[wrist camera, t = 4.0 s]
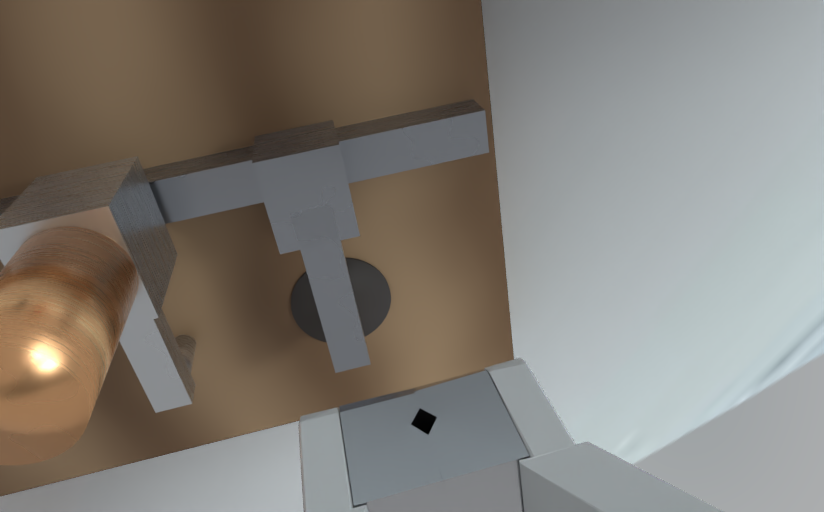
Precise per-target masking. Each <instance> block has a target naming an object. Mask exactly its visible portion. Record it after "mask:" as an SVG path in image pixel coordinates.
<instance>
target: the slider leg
mask: <svg viewBox="0 0 824 512" xmlns="http://www.w3.org/2000/svg"><path fill="white" fill-rule="evenodd" d="M177 255H178V254H177V252H176V249H175V247H174V244H173V242H172V239H171V237H170V234H169V232H168V229H167V227H166V224H165V222H164V220H163V217H162V215H161V212H160V210H159V207H158V205H157V202H156V200H155V197H154V195H153V192H152V190H151V188H150V185H149V183H148V180H147V178H146V175H145V173H144V170H143V168H142V165H141V163H140V160H139V158H138V156H136V157H132V158H127V159H122V160H117V161H113V162H108V163H103V164H98V165H94V166H89V167H84V168H79V169H75V170H70V171H65V172H60V173H56V174H51V175H46V176H41V177H37V178H36V179H35V180H34V181H33V182H32V183H31V184H30V185H29V186H28V187H27V188H26V189H25V190H24V191H23V193H22V194H21V195H20V196H19V197H18V198H17V199H16V200H15V201H14V202H13V203H12V204H11V205H10V206H9V207H8V209H7V210H6V211H5V212H4V213H3V214H2V215H1V216H0V260H1V262H2V263H3V265H4V268H3V269H2V270H1V272H0V465H8V466H9V465H26V464H33V463H38V462H42V461H45V460H48V459H51V458H53V457H56V456H58V455H60V454H61V453H63V452H65V451H67V450H68V449H69V448H71V447H72V446H73V445H74V444H75V443H76V442H77V441H78V440H79V439H80V437H81V436H82V435H83V433H84V431H85V429H86V427H87V425H88V422H89V419H90V417H91V414H92V411H93V409H94V406H95V403H96V401H97V398H98V395H99V393H100V390H101V388H102V385H103V382H104V380H105V377H106V374H107V372H108V369H109V366H110V364H111V361H112V358H113V356H114V353H115V350H116V348H117V345H118V343H119V341H120V343H121V345H122V347H123V349H124V351H125V353H126V355H127V357H128V359H129V361H130V363H131V365H132V367H133V369H134V371H135V373H136V375H137V377H138V379H139V381H140V383H141V385H142V387H143V389H144V391H145V393H146V395H147V397H148V399H149V401H150V403H151V405H152V407H153V409H154V411H155V413H157V412H161V411H165V410H169V409H173V408H177V407H181V406H185V405H189V404H192V402H193V397H194V391H195V386H196V384H195V382H194V380H193V378H192V375H191V370H192V365H193V360H194V354H195V349H196V341H195V339H194V338H193V337H192V336H189V335H179V336H177V337H174V335H173V333H172V330H171V328H170V326H169V324H168V321H167V319H166V317H165V315H164V312H163V310H162V305H163V302H164V298H165V295H166V292H167V288H168V285H169V282H170V278H171V275H172V272H173V268H174V265H175V262H176V258H177Z"/></svg>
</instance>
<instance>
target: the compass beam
mask: <svg viewBox="0 0 824 512" xmlns="http://www.w3.org/2000/svg"><path fill="white" fill-rule="evenodd" d="M484 153H489V146H488V135H487V125H486V114H485V110H484V109H483V108H482V107H481V106H480V105H479V104H478V103H477V102H476V101H475V100H473V99H470V100H465V101H460V102H456V103H451V104H446V105H441V106H437V107H432V108H427V109H423V110H418V111H413V112H408V113H404V114H399V115H394V116H390V117H385V118H380V119H376V120H371V121H366V122H361V123H357V124H352V125H347V126H343V127H338V128H335V126H334V123H333V120H329V121H324V122H319V123H315V124H310V125H305V126H300V127H296V128H291V129H286V130H281V131H277V132H272V133H267V134H262V135H258V136H255V140H254V145H253V146H248V147H244V148H239V149H234V150H230V151H225V152H220V153H216V154H211V155H206V156H201V157H197V158H192V159H187V160H183V161H178V162H173V163H168V164H164V165H159V166H154V167H150V168H145V169H143V170H144V173H145V175H146V178H147V180H148V183H149V185H150V188H151V190H152V192H153V195H154V197H155V200H156V202H157V205H158V207H159V210H160V212H161V215H162V217H163V220H164V222H165V224H168V223H172V222H177V221H181V220H186V219H190V218H195V217H199V216H204V215H208V214H213V213H217V212H222V211H226V210H231V209H235V208H240V207H245V206H249V205H254V204H258V203H263V202H264V204H265V207H266V210H267V214H268V217H269V220H270V223H271V227H272V230H273V233H274V236H275V240H276V243H277V246H278V249H279V253H280V254H284V253H288V252H293V251H297V250H300V251H301V254H302V258H303V261H304V265H305V268H306V272H307V275H308V279H309V282H310V285H311V289H312V292H313V296H314V299H315V303H316V306H317V310H318V313H319V317H320V320H321V324H322V327H323V331H324V334H325V338H326V341H327V345H328V348H329V352H330V355H331V359H332V362H333V366H334V369H335V373H338V372H342V371H346V370H350V369H354V368H358V367H362V366H366V365H370V364H371V363H370V358H369V354H368V349H367V344H366V340H365V336H364V332H363V328H362V324H361V320H360V316H359V312H358V308H357V304H356V300H355V296H354V291H353V287H352V283H351V279H350V275H349V271H348V267H347V263H346V259H345V255H344V251H343V247H342V243H341V240H345V239H349V238H354V237H358V236H360V233H359V229H358V224H357V220H356V216H355V211H354V207H353V202H352V198H351V194H350V189H349V185H348V184H349V183H353V182H358V181H362V180H367V179H371V178H376V177H380V176H385V175H389V174H394V173H398V172H403V171H407V170H412V169H417V168H421V167H426V166H430V165H435V164H439V163H444V162H448V161H453V160H457V159H462V158H466V157H471V156H475V155H480V154H484ZM19 196H20V195H18V196H13V197H8V198H4V199H0V216H1V215H2V214H3V213H4V212H5V211H6V210H7V209H8V207H9V206H10V205H11V204H12V203H13V202H14V201H15V200H16V199H17V198H18V197H19Z"/></svg>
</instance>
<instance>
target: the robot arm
mask: <svg viewBox="0 0 824 512" xmlns="http://www.w3.org/2000/svg"><path fill="white" fill-rule="evenodd" d="M298 426H299V442H300V459H301V475H302V492H303V508H304V512H724V511H722V510H720V509H718V508H716V507H714V506H712V505H710V504H708V503H707V502H705V501H703V500H701V499H699V498H697V497H695V496H693V495H691V494H689V493H687V492H685V491H683V490H681V489H679V488H677V487H675V486H673V485H671V484H669V483H668V482H666V481H664V480H662V479H660V478H657V477H655V476H654V475H652V474H650V473H648V472H646V471H644V470H642V469H640V468H638V467H636V466H634V465H632V464H630V463H628V462H627V461H625V460H623V459H621V458H619V457H617V456H615V455H613V454H611V453H609V452H607V451H605V450H603V449H601V448H599V447H597V446H595V445H593V444H591V443H589V442H584V443H581V444H577V445H576V444H575V442H574V440H573V439H572V437H571V435H570V434H569V432H568V430H567V429H566V427H565V425H564V424H563V422H562V420H561V419H560V417H559V416H558V414H557V412H556V411H555V409H554V407H553V406H552V404H551V402H550V401H549V399H548V397H547V396H546V394H545V393H544V391H543V389H542V388H541V386H540V384H539V383H538V381H537V379H536V378H535V376H534V374H533V373H532V371H531V370H530V368H529V366H528V365H527V363H526V361H524V360H523V359H521V358H517V359H514V360H510V361H507V362H503V363H500V364H496V365H493V366H489V367H486V368H485V369H481V370H477V371H474V372H470V373H466V374H463V375H459V376H455V377H452V378H448V379H444V380H441V381H437V382H434V383H430V384H426V385H423V386H419V387H415V388H412V389H408V390H404V391H399V392H395V393H391V394H387V395H383V396H379V397H375V398H370V399H366V400H362V401H358V402H354V403H350V404H346V405H342V406H339V408H332V409H328V410H324V411H320V412H316V413H312V414H307V415H303V416H301V417H300V421H299V425H298Z"/></svg>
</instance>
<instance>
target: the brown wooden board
mask: <svg viewBox="0 0 824 512" xmlns="http://www.w3.org/2000/svg"><path fill="white" fill-rule="evenodd" d="M470 99H473V100H475V101H476V102H477V103H478V104H479V105H480V106H481V107H482V108H483V109H484V110H485V114H486V125H487V135H488V146H489V153H484V154H480V155H475V156H471V157H466V158H462V159H457V160H453V161H448V162H444V163H439V164H435V165H430V166H426V167H421V168H417V169H412V170H407V171H403V172H398V173H394V174H389V175H385V176H380V177H376V178H371V179H367V180H362V181H358V182H353V183H349V184H348V185H349V189H350V194H351V198H352V202H353V207H354V211H355V216H356V220H357V224H358V229H359V233H360V236H358V237H354V238H349V239H345V240H341V243H342V247H343V251H344V255H345V259H346V263H347V267H348V271H349V275H350V279H351V283H352V287H353V291H354V296H355V300H356V304H357V308H358V312H359V316H360V320H361V324H362V328H363V332H364V336H365V340H366V344H367V349H368V354H369V358H370V363H371V364H370V365H366V366H362V367H358V368H354V369H350V370H346V371H342V372H338V373H335V369H334V366H333V362H332V359H331V355H330V352H329V348H328V345H327V341H326V338H325V334H324V331H323V327H322V324H321V320H320V317H319V313H318V310H317V306H316V303H315V299H314V296H313V292H312V289H311V285H310V282H309V279H308V275H307V272H306V268H305V265H304V261H303V258H302V254H301V251H300V250H297V251H293V252H288V253H284V254H280V253H279V249H278V246H277V243H276V240H275V236H274V233H273V230H272V227H271V223H270V220H269V217H268V214H267V210H266V207H265V204H264V202H263V203H258V204H254V205H249V206H245V207H240V208H235V209H231V210H226V211H222V212H217V213H213V214H208V215H204V216H199V217H195V218H190V219H186V220H181V221H177V222H172V223H168V224H166V227H167V229H168V232H169V234H170V237H171V239H172V242H173V244H174V247H175V249H176V252H177V254H178V255H177V258H176V262H175V265H174V268H173V272H172V275H171V278H170V282H169V285H168V288H167V292H166V295H165V298H164V302H163V305H162V310H163V312H164V315H165V317H166V319H167V321H168V324H169V326H170V328H171V330H172V333H173V335H174V337H177V336H179V335H189V336H192V337H193V338H194V339H195V341H196V349H195V354H194V360H193V365H192V370H191V375H192V378H193V380H194V382H195V384H196V386H195V391H194V397H193V402H192V404H189V405H185V406H181V407H177V408H173V409H169V410H165V411H161V412H157V413H155V411H154V409H153V407H152V405H151V403H150V401H149V399H148V397H147V395H146V393H145V391H144V389H143V387H142V385H141V383H140V381H139V379H138V377H137V375H136V373H135V371H134V369H133V367H132V365H131V363H130V361H129V359H128V357H127V355H126V353H125V351H124V349H123V347H122V345H121V343H120V341H119V343H118V345H117V348H116V350H115V353H114V356H113V358H112V361H111V364H110V366H109V369H108V372H107V374H106V377H105V380H104V382H103V385H102V388H101V390H100V393H99V395H98V398H97V401H96V403H95V406H94V409H93V411H92V414H91V417H90V419H89V422H88V425H87V427H86V429H85V431H84V433H83V435H82V436H81V437H80V439H79V440H78V441H77V442H76V443H75V444H74V445H73V446H72V447H71V448H69V449H68V450H67V451H65V452H63V453H61V454H60V455H58V456H56V457H53V458H51V459H48V460H45V461H42V462H38V463H33V464H26V465H9V466H8V465H0V496H4V495H8V494H12V493H16V492H20V491H24V490H28V489H32V488H35V487H39V486H43V485H47V484H51V483H55V482H59V481H63V480H67V479H71V478H75V477H79V476H83V475H87V474H91V473H95V472H99V471H102V470H106V469H110V468H114V467H118V466H122V465H126V464H130V463H134V462H138V461H142V460H146V459H150V458H154V457H158V456H162V455H166V454H169V453H173V452H177V451H181V450H185V449H189V448H193V447H197V446H201V445H205V444H209V443H213V442H217V441H221V440H225V439H229V438H233V437H236V436H240V435H244V434H248V433H252V432H256V431H260V430H264V429H268V428H272V427H276V426H280V425H284V424H288V423H292V422H296V421H300V417H301V416H303V415H307V414H312V413H316V412H320V411H324V410H328V409H332V408H339V406H342V405H346V404H350V403H354V402H358V401H362V400H366V399H370V398H375V397H379V396H383V395H387V394H391V393H395V392H399V391H404V390H408V389H412V388H415V387H419V386H423V385H426V384H430V383H434V382H437V381H441V380H444V379H448V378H452V377H455V376H459V375H463V374H466V373H470V372H474V371H477V370H481V369H485V368H486V367H489V366H493V365H496V364H500V363H503V362H507V361H510V360H514V356H513V345H512V334H511V323H510V312H509V301H508V290H507V279H506V268H505V257H504V246H503V235H502V225H501V214H500V203H499V192H498V181H497V170H496V159H495V148H494V137H493V126H492V115H491V104H490V93H489V82H488V71H487V60H486V49H485V38H484V27H483V16H482V6H481V0H0V199H4V198H8V197H13V196H18V195H21V194H22V193H23V191H24V190H25V189H26V188H27V187H28V186H29V185H30V184H31V183H32V182H33V181H34V180H35V179H36V178H37V177H41V176H46V175H51V174H56V173H60V172H65V171H70V170H75V169H79V168H84V167H89V166H94V165H98V164H103V163H108V162H113V161H117V160H122V159H127V158H132V157H136V156H138V158H139V160H140V163H141V165H142V168H143V169H145V168H150V167H154V166H159V165H164V164H168V163H173V162H178V161H183V160H187V159H192V158H197V157H201V156H206V155H211V154H216V153H220V152H225V151H230V150H234V149H239V148H244V147H248V146H253V145H254V140H255V136H258V135H262V134H267V133H272V132H277V131H281V130H286V129H291V128H296V127H300V126H305V125H310V124H315V123H319V122H324V121H329V120H333V123H334V126H335V128H338V127H343V126H347V125H352V124H357V123H361V122H366V121H371V120H376V119H380V118H385V117H390V116H394V115H399V114H404V113H408V112H413V111H418V110H423V109H427V108H432V107H437V106H441V105H446V104H451V103H456V102H460V101H465V100H470ZM3 268H4V265H3V263H2V262H1V260H0V272H1V270H2V269H3Z"/></svg>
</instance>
